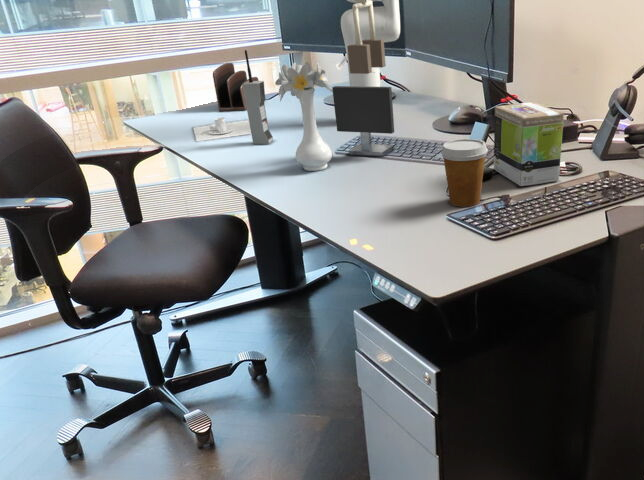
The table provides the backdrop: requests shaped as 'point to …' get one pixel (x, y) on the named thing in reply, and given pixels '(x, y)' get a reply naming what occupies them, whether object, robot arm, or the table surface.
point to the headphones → (365, 44)
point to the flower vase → (307, 112)
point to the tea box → (528, 143)
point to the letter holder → (230, 88)
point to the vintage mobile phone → (256, 109)
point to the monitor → (364, 116)
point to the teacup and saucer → (222, 129)
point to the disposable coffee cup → (464, 170)
